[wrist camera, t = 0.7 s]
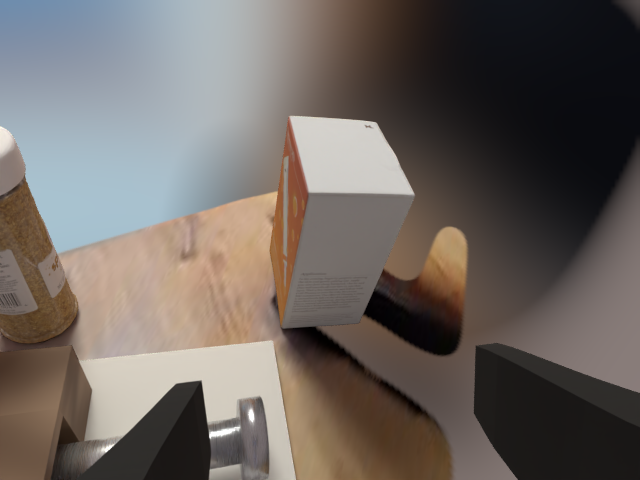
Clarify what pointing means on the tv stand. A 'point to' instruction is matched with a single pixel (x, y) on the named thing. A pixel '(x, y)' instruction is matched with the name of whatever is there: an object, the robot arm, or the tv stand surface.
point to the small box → (334, 219)
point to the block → (40, 409)
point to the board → (186, 366)
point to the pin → (225, 439)
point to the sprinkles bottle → (28, 260)
